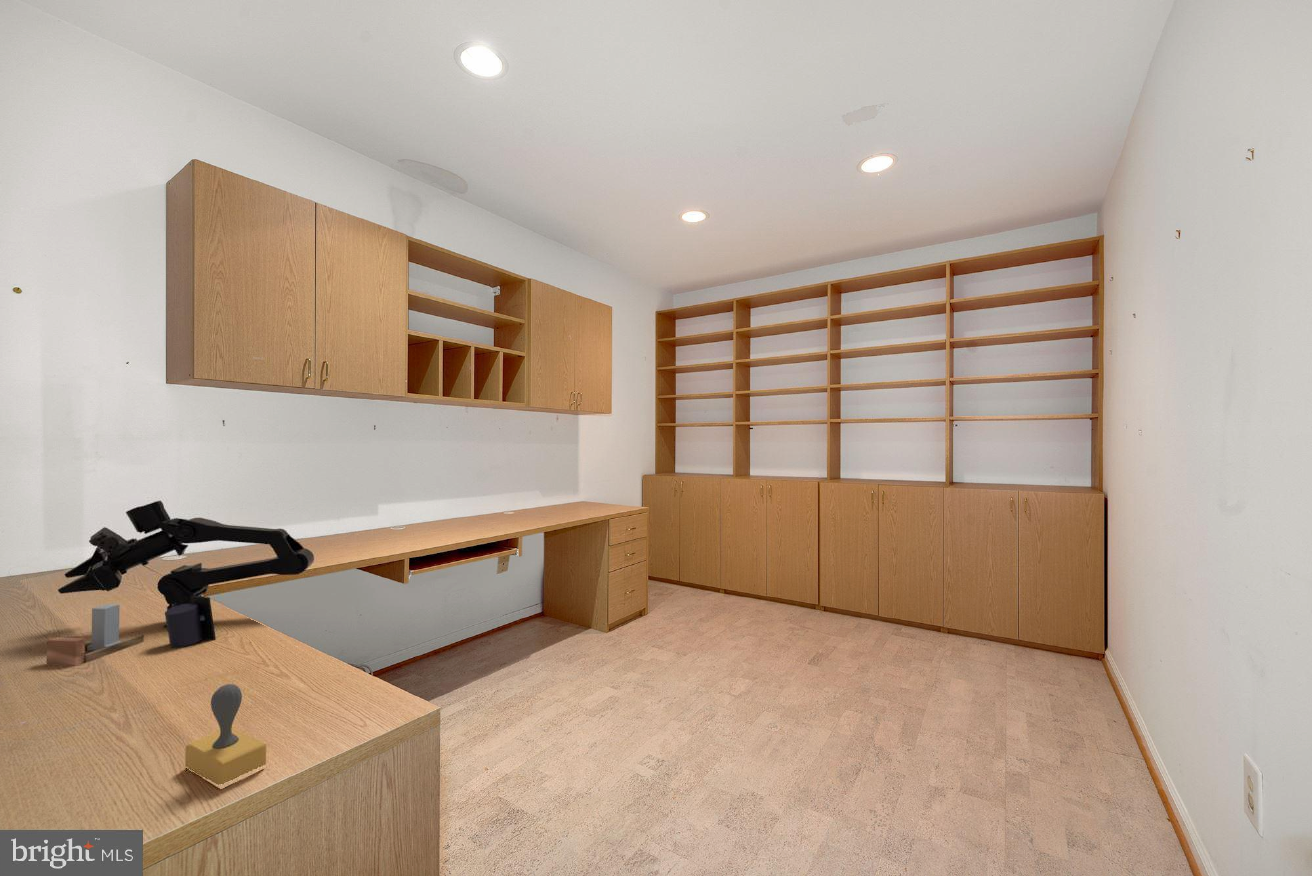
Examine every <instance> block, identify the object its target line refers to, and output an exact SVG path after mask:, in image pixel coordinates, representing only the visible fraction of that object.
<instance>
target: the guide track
mask: <svg viewBox="0 0 1312 876" xmlns="http://www.w3.org/2000/svg"><path fill="white" fill-rule="evenodd" d="M144 640H145V639H144V634H139V635H136V636H134V637H131V638H128V639H124V640H122V642H119V643H116V644H113V645H110V646H108V647H105V648H102V649H99V650H96V651H91V652H90V650H87V646H88V645H91V641H89V642H86V638H82V637H81V638H78V637H53V638H50V639H47V640H46V665H48V666H74V667H75V666H78V665H81V664H87V663H89V662H91V661H95V660H97V659H100V658H102V657H106V656H108V655H110V654H113V653H116V652H119V651H121V650H125V649H127V648H130V647H133V646H135V645H138V644H141V643H143V642H144ZM86 652H88V653H86ZM85 653H86V654H85ZM105 655H106V656H105Z"/></svg>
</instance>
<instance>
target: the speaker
mask: <svg viewBox="0 0 1312 876" xmlns="http://www.w3.org/2000/svg"><path fill="white" fill-rule="evenodd" d="M190 598H191V603H188V604H182V605H178V606H175V607H172V608H170V609H168V610H167V609H166V611H165V612H164V616H165V621H166V623H165V624H167V627H166V628H167V629H166V630H167V633H168V641H169V646H170V647H172V648H174V649H175V648H176V649H177V648H178V649H179V648H183V647H184V648H185V647H188V646H191V645H195V644H196V643H198V642H200V641H201V640H202V639H204V640H211V641H215V640H216V639H217V638H216V630H215V624H214V619H213V611H212V603H211V597H208V596H205V597H200V596H190Z"/></svg>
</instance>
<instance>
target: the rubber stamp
mask: <svg viewBox="0 0 1312 876" xmlns="http://www.w3.org/2000/svg"><path fill="white" fill-rule="evenodd" d="M242 697H243V694H242V690H241V689H240V688H239V686H238V685H237V684H233V683H226V684H224V685H222V686H220V687H218V689H216V690H215V691H214V693H213V694H212V696H211V699H210V708H211V711H212V713H213V715H214V718H215V719H216V721H217V723H218V726H219V729H220V730H218V731H215V732H213V733H211V734H208V735H205V736H203V737H201V738H198V739H196V740H193V741H190V742H188V743H187V744H186V745H185V750H184V751H185V756H184V757H185V761H184V763H185V764H184V766H186V767H188V769H190V770H192V771H194V772H195V773H197V774H199V775H201V776H202V777H205V778H206V779H209V780H211V781H212V782H214V783H216V784H218V785H219V784H224V783H225V782H228V781H230V780H233V779H235V778H237V777H239V776H240V775H243V774H245V773H248V772H249V771H252V770H253V769H257V768H258V767H261V766H263V765H265V764H266V765H267V743H266V742H263V741H261V740H259V739H257V738H255V737H253V736H251V735H249V734H248V733H245V732H243V731H241V730H239V729H238V728H235V727H233V723H234V720H235V718H236V716H237V713H238V712H239V709H240V706H241V704H242V699H243V698H242Z"/></svg>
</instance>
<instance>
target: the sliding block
mask: <svg viewBox="0 0 1312 876" xmlns="http://www.w3.org/2000/svg"><path fill="white" fill-rule="evenodd" d="M120 607H121V605H120V604H114V603H113V604H110V603H106V604H102V605H100V606H99V605H98V606H96V607H93V608H91V637H90V638H91V639H90V640H91V641H90V642H91V645H88V646H87V650H89V652H90V651H91V652H93V651H96V650H99V649H102V648H105V647H108V646H110V645H113V644H116V643H119V642H122V641H123V640H122V641H121V640H120Z"/></svg>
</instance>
